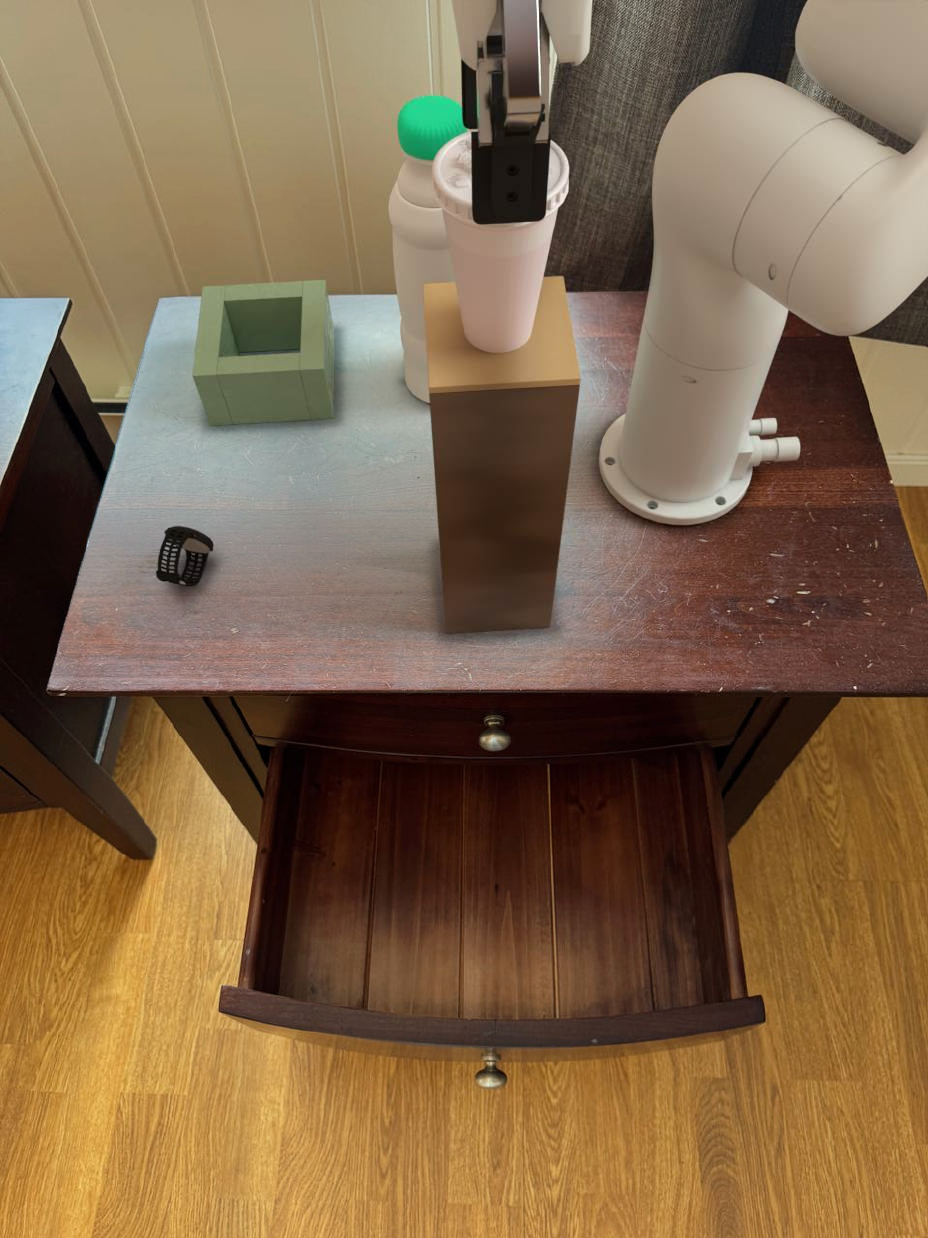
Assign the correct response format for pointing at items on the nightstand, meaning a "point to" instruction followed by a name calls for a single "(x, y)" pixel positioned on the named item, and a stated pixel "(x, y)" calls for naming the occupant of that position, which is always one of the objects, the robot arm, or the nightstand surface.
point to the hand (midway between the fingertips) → (502, 166)
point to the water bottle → (420, 224)
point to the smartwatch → (191, 544)
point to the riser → (500, 461)
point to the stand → (273, 379)
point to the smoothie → (495, 251)
